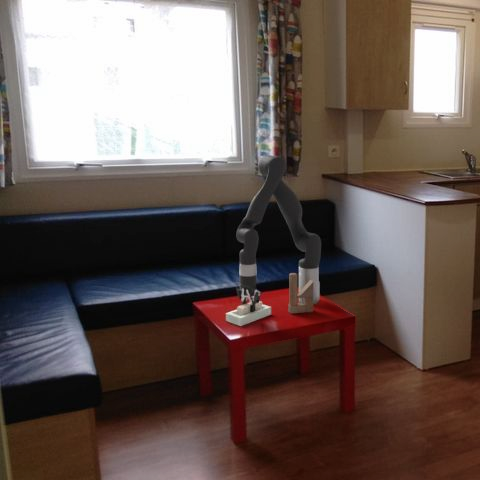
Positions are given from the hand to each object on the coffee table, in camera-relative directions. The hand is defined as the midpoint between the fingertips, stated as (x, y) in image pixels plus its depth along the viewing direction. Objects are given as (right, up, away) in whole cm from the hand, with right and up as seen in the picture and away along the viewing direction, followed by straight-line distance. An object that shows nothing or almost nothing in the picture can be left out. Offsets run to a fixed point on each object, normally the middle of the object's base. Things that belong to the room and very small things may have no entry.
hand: (248, 310), depth 233 cm
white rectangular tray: (0, -3, +1) cm, 3 cm away
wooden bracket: (+24, -2, +6) cm, 24 cm away
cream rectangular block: (+1, -2, +1) cm, 2 cm away
